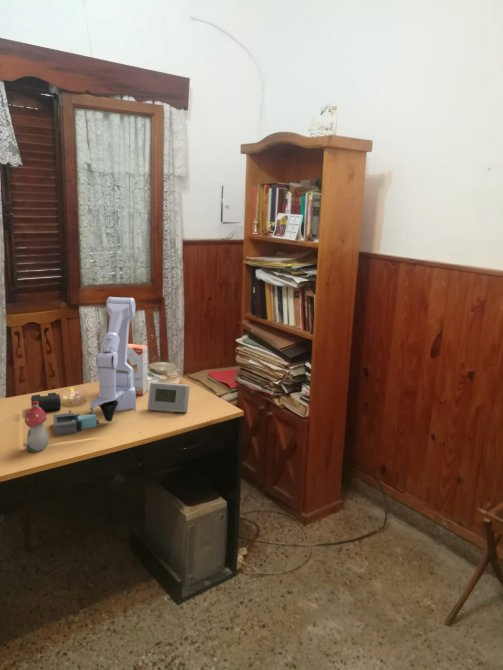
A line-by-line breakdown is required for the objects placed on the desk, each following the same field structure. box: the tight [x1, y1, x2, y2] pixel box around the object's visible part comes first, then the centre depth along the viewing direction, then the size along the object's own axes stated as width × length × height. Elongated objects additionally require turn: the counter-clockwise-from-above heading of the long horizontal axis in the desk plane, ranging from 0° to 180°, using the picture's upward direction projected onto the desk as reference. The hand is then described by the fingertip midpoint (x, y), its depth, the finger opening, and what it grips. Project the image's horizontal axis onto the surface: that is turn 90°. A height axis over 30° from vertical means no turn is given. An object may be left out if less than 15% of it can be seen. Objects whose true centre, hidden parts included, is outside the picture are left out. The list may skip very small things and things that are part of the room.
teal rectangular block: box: [78, 413, 100, 430], centre depth 186 cm, size 7×4×4 cm, turn 113°
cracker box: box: [116, 343, 149, 396], centre depth 220 cm, size 14×6×21 cm, turn 80°
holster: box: [68, 407, 95, 415], centre depth 194 cm, size 9×7×3 cm
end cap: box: [30, 392, 62, 413], centre depth 198 cm, size 10×7×7 cm
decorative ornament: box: [24, 401, 49, 453], centre depth 169 cm, size 9×6×15 cm
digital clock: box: [147, 381, 190, 414], centre depth 205 cm, size 16×9×11 cm, turn 71°
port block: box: [52, 412, 83, 437], centre depth 183 cm, size 9×10×5 cm
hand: (108, 420), depth 189 cm, fingers closed
